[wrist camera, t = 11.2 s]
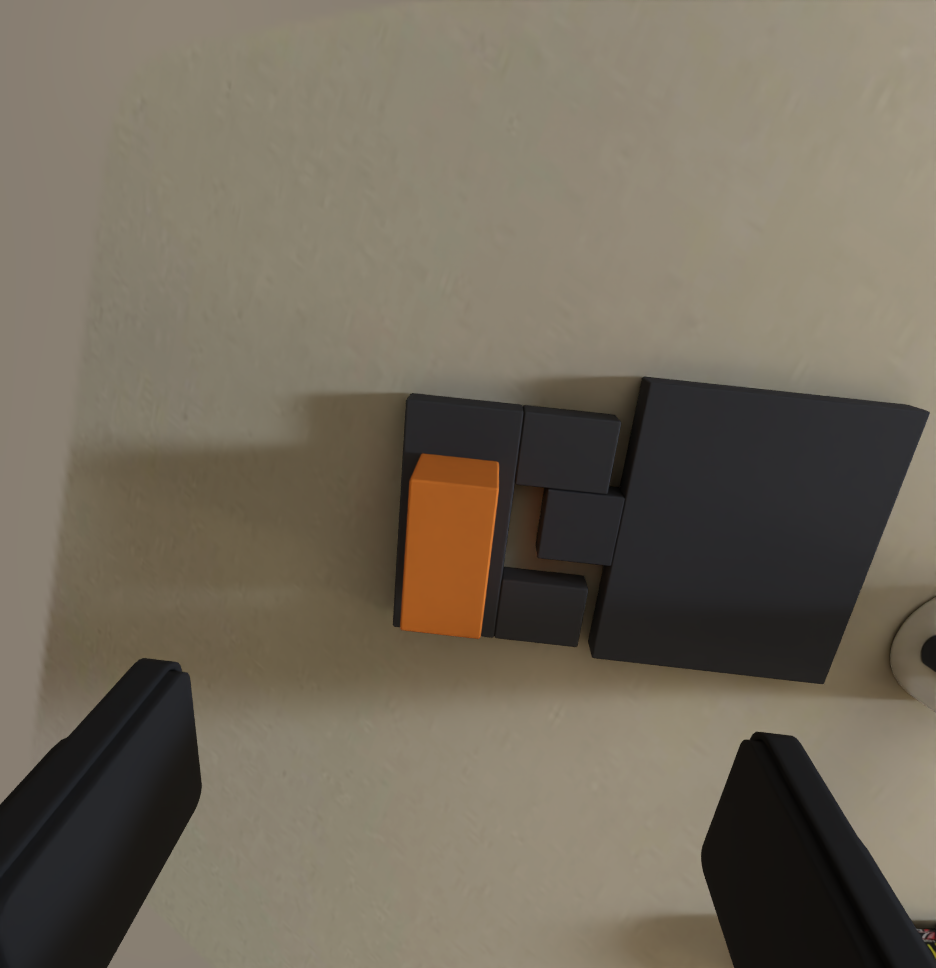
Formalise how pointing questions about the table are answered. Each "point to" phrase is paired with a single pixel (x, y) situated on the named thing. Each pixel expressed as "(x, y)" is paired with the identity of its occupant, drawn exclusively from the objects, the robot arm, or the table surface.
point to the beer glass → (917, 655)
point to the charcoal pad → (736, 526)
